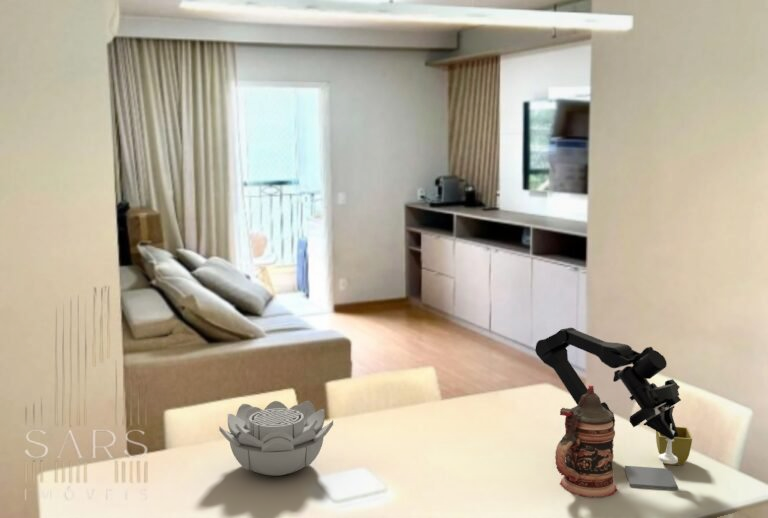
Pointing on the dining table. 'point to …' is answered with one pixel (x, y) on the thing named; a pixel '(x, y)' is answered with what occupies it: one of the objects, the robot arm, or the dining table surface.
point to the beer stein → (587, 448)
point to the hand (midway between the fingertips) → (675, 437)
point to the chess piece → (668, 452)
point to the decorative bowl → (276, 437)
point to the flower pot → (676, 445)
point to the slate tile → (650, 477)
